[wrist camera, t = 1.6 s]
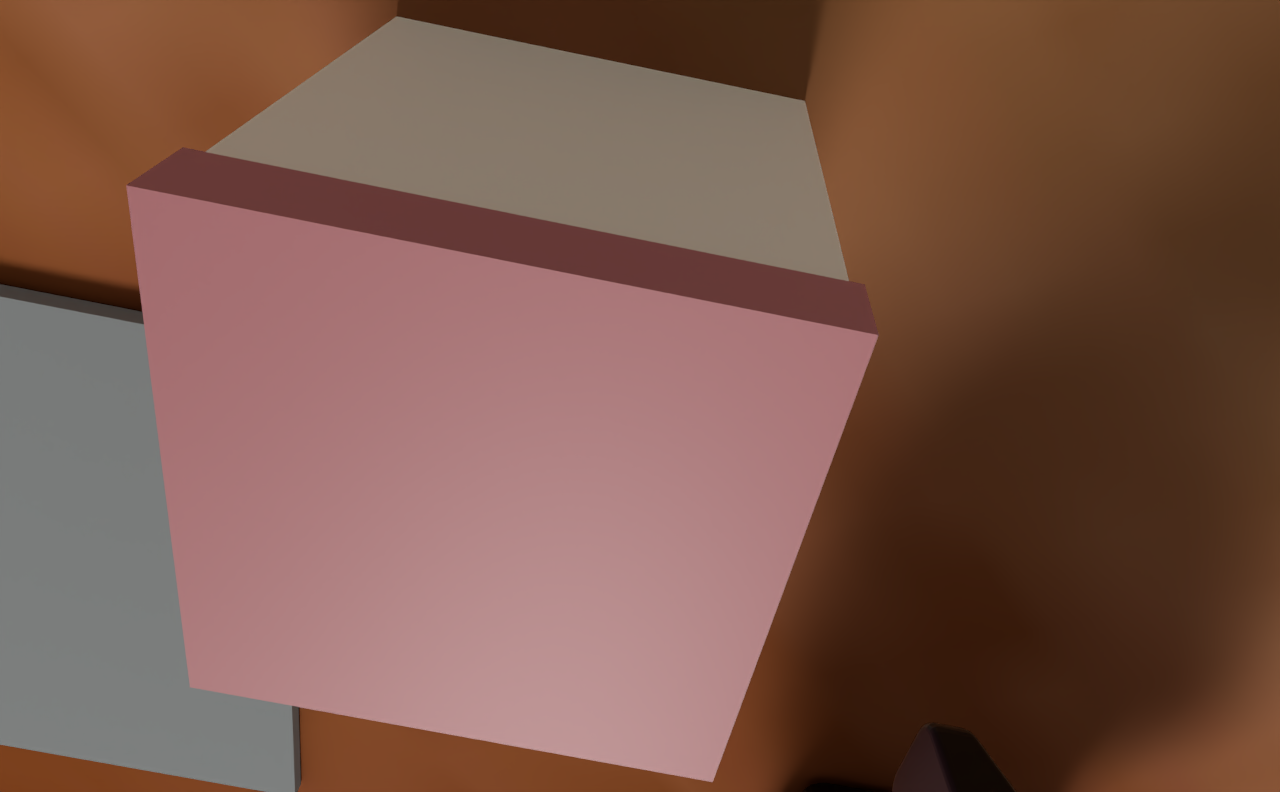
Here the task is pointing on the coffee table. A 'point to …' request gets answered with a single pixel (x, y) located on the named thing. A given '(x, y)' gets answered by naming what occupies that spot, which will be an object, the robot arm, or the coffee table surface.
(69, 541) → the mat
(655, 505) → the pink-topped box
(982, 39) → the coffee table surface
